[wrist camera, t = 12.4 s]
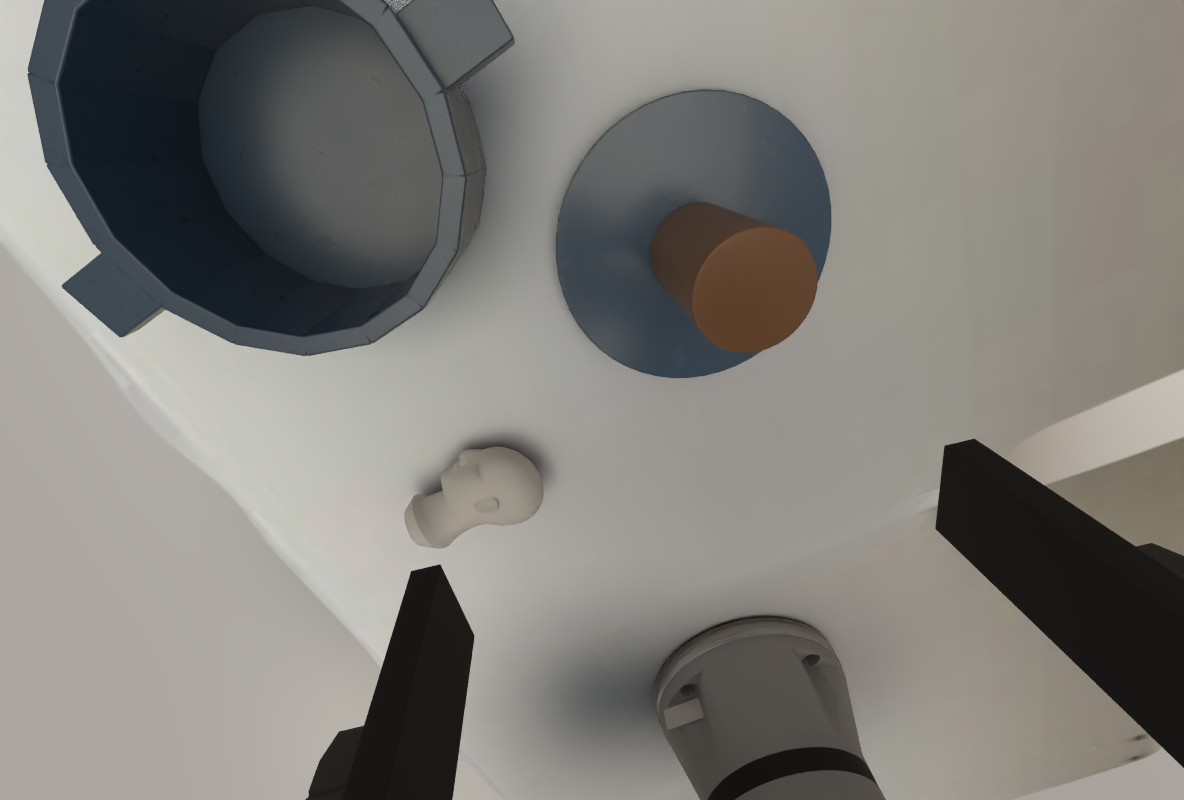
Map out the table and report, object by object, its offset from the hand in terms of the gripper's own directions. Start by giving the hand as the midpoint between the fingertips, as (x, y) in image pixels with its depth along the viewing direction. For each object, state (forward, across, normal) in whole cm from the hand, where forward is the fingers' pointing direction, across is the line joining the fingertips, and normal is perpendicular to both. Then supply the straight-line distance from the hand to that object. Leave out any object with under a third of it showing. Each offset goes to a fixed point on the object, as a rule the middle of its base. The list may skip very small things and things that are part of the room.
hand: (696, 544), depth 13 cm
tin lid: (+16, -5, -4) cm, 17 cm away
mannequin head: (+17, +10, +7) cm, 21 cm away
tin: (+17, +10, -11) cm, 23 cm away
